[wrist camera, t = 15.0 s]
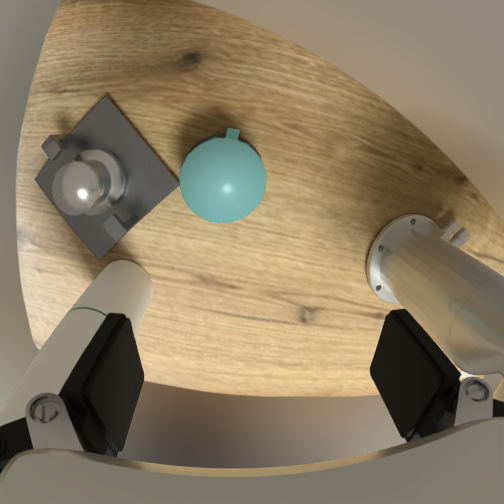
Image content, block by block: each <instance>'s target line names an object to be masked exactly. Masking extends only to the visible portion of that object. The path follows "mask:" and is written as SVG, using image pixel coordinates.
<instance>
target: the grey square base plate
mask: <svg viewBox="0 0 504 504" xmlns="http://www.w3.org/2000/svg"><path fill="white" fill-rule="evenodd" d="M41 147H42V149H43V150H44V151H45V153H46V154H47V156H48V157H49V158H50V159H49V161H48V162H47V163H46V165H45V166H44V167H43V169H42V170H41V171H40V173H39V174H38V175H37V177H36V178H35V180H36V182H37V183H38V185H39V186H40V187H41V189H42V190H43V192H44V193H45V194H46V196H47V197H48V198H49V200H50V201H51V202H52V204H53V205H54V206H55V208H56V209H57V210H58V211H59V213H60V214H61V215H62V217H63V218H64V219H65V220H66V222H67V223H68V224H69V225H70V227H71V228H72V229H73V230H74V231H75V233H76V234H77V235H78V236H79V237H80V239H81V240H82V241H83V242H84V243H85V244H86V246H87V247H88V248H89V249H90V250H91V251H92V252H93V254H94V255H95V256H96V257H97V258H98V259H99V260H100V259H101V258H102V257H103V256H104V255H105V254H106V253H107V252H108V251H109V250H110V249H111V248H112V247H113V246H114V245H115V244H116V243H117V242H118V241H119V240H120V239H121V238H122V237H123V236H124V235H125V234H126V233H127V232H128V231H129V230H130V229H131V228H132V227H133V226H134V225H136V224H137V223H138V222H139V221H140V220H141V219H142V218H143V217H144V216H145V215H146V214H147V213H149V212H150V211H151V210H152V209H153V208H154V207H155V206H156V205H157V204H159V203H160V202H161V201H162V200H163V199H164V198H165V197H166V196H168V195H169V194H170V193H171V192H172V191H173V190H175V189H176V188H177V187H178V186H179V185H180V182H179V180H178V179H177V178H176V177H175V176H174V174H173V173H172V172H171V171H170V170H169V168H168V167H167V166H166V165H165V164H164V162H163V161H162V160H161V159H160V158H159V156H158V155H157V154H156V153H155V152H154V150H153V149H152V148H151V147H150V145H149V144H148V143H147V142H146V141H145V139H144V138H143V137H142V136H141V135H140V133H139V132H138V131H137V130H136V129H135V127H134V126H133V125H132V124H131V122H130V121H129V120H128V119H127V118H126V116H125V115H124V114H123V113H122V111H121V110H120V109H119V108H118V107H117V105H116V104H115V103H114V102H113V100H112V99H111V98H110V97H107V96H105V97H104V98H103V99H102V100H101V101H100V102H99V103H98V104H97V105H96V106H95V107H94V108H93V109H92V110H91V111H90V112H89V113H88V115H87V116H86V117H85V118H84V119H83V120H82V121H81V122H80V123H79V124H78V125H77V127H76V128H75V129H74V130H73V131H72V132H71V133H70V134H57V135H50V136H49V137H48V138H47V140H46V141H45V142H44V143H43V145H42V146H41Z"/></svg>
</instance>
